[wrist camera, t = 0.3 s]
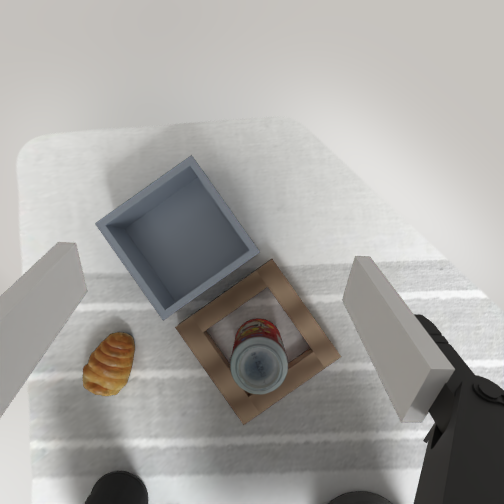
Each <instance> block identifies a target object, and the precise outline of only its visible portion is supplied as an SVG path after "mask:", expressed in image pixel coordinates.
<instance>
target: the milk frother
mask: <svg viewBox="0 0 504 504" xmlns="http://www.w3.org/2000/svg"><path fill="white" fill-rule="evenodd" d="M85 504H148V495H147V491H146V488H145V486H144V484H143V483H142V482H141V481H140V480H139V479H138V478H137V477H136V476H134V475H132V474H130V473H128V472H123V471H116V472H112V473H109V474H106V475H104V476H103V477H101V478H100V479H99V480H98V481H97V482H96V484H95V485H94V487H93V489H92V492H91V494H90V495H89V497H88V498H87V500H86V502H85Z"/></svg>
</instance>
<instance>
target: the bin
mask: <svg viewBox="0 0 504 504" xmlns="http://www.w3.org/2000/svg"><path fill="white" fill-rule="evenodd" d="M95 224H96V226H97V227H98V229H99V230H100V231H101V233H102V234H103V236H104V237H105V239H106V240H107V241H108V243H109V244H110V246H111V247H112V249H113V250H114V251H115V253H116V254H117V256H118V257H119V258H120V260H121V261H122V263H123V264H124V266H125V267H126V268H127V270H128V271H129V273H130V274H131V276H132V277H133V278H134V280H135V281H136V283H137V284H138V286H139V287H140V288H141V290H142V291H143V293H144V294H145V295H146V297H147V298H148V300H149V301H150V303H151V304H152V305H153V307H154V308H155V310H156V311H157V313H158V314H159V315H160V317H161V318H162V320H165V319H166V318H167V317H169V316H170V315H172V314H173V313H175V312H176V311H177V310H179V309H180V308H182V307H183V306H184V305H186V304H187V303H189V302H190V301H192V300H193V299H194V298H196V297H197V296H199V295H200V294H202V293H203V292H204V291H206V290H207V289H209V288H210V287H211V286H213V285H214V284H216V283H217V282H219V281H220V280H221V279H223V278H224V277H226V276H227V275H229V274H230V273H231V272H233V271H234V270H236V269H237V268H238V267H240V266H241V265H243V264H244V263H246V262H247V261H248V260H250V259H251V258H253V257H254V256H256V255H257V254H258V253H260V251H259V250H258V248H257V247H256V246H255V244H254V243H253V241H252V240H251V239H250V237H249V236H248V234H247V233H246V231H245V230H244V229H243V227H242V226H241V224H240V223H239V221H238V220H237V219H236V217H235V216H234V214H233V213H232V212H231V210H230V209H229V207H228V206H227V204H226V203H225V202H224V200H223V199H222V197H221V196H220V194H219V193H218V192H217V190H216V189H215V187H214V186H213V185H212V183H211V182H210V180H209V179H208V177H207V176H206V175H205V173H204V172H203V170H202V169H201V168H200V166H199V165H198V163H197V162H196V160H195V159H194V158H193V156H192V155H191V156H190V157H188V158H187V159H185V160H184V161H183V162H181V163H180V164H178V165H177V166H176V167H174V168H173V169H171V170H170V171H168V172H167V173H166V174H164V175H163V176H161V177H160V178H159V179H157V180H156V181H154V182H153V183H152V184H150V185H149V186H147V187H146V188H144V189H143V190H142V191H140V192H139V193H137V194H136V195H135V196H133V197H132V198H130V199H129V200H128V201H126V202H125V203H123V204H122V205H120V206H119V207H118V208H116V209H115V210H113V211H112V212H111V213H109V214H108V215H106V216H105V217H104V218H102V219H101V220H99V221H98V222H96V223H95Z"/></svg>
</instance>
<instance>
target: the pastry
mask: <svg viewBox="0 0 504 504" xmlns="http://www.w3.org/2000/svg"><path fill="white" fill-rule="evenodd" d="M134 351H135V344H134V339H133V338H132V336H131V335H129V334H127V333H121V332H117V333H113V334H110V335H109V336H108V337H107V338H106V339H105V340H104V341H102V342H101V343H100V345H99V346H98V347H97V348H96V350H95V351H94V352H93V353H91V355H90V359H89V362H88V364H87V365H85V366H84V368H83V386H84V388H85V389H87V390H88V391H90V392H92V393H93V394H96V395H102V396H111V395H116V394H118V393H119V391H120V390H121V389H122V388H123V387H124V386H125V385H126V383H127V381H128V378H129V376H130V372H131V368H132V364H133V358H134Z"/></svg>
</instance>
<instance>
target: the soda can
mask: <svg viewBox="0 0 504 504" xmlns="http://www.w3.org/2000/svg"><path fill="white" fill-rule="evenodd" d="M230 370H231V374H232V377H233V379H234V381H235V382H236V383H237V385H238V386H239V387H240V388H242V389H243V390H245V391H247V392H249V393H252V394H260V395H261V394H267V393H269V392H272V391H274V390H276V389H277V388H278V387H279V386H280V385H281V384H282V383H283V382H284V380H285V378H286V375H287V372H288V358H287V355H286V352H285V349H284V345H283V342H282V339H281V336H280V333H279V331H278V329H277V328H276V327H275V326H274V325H273V324H272V323H271V322H269V321H267V320H264V319H252V320H249V321H247V322H246V323H244V324H243V325H242V326H241V327H240V328H239V330H238V331H237V334H236V337H235V342H234V346H233V351H232V355H231V359H230Z"/></svg>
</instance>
